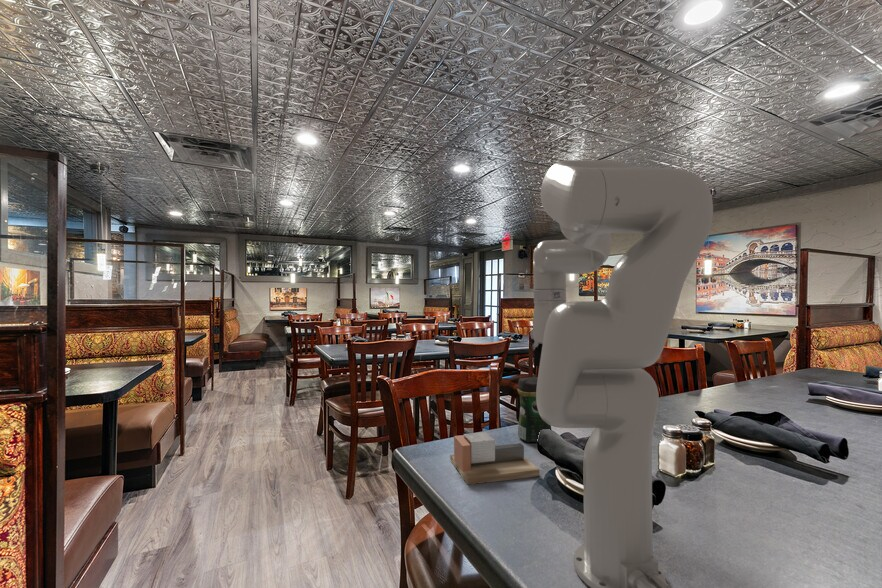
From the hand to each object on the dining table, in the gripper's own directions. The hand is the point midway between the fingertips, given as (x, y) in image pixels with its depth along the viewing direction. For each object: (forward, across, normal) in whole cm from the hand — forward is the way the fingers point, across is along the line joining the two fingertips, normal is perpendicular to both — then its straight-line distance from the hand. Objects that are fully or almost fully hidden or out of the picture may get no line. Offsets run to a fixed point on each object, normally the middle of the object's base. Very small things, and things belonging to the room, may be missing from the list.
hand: (550, 368), depth 93 cm
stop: (+24, +8, +20) cm, 32 cm away
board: (+25, +8, +12) cm, 29 cm away
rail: (+24, +8, +11) cm, 27 cm away
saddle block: (+22, +8, +15) cm, 28 cm away
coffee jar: (+25, +24, -9) cm, 35 cm away
